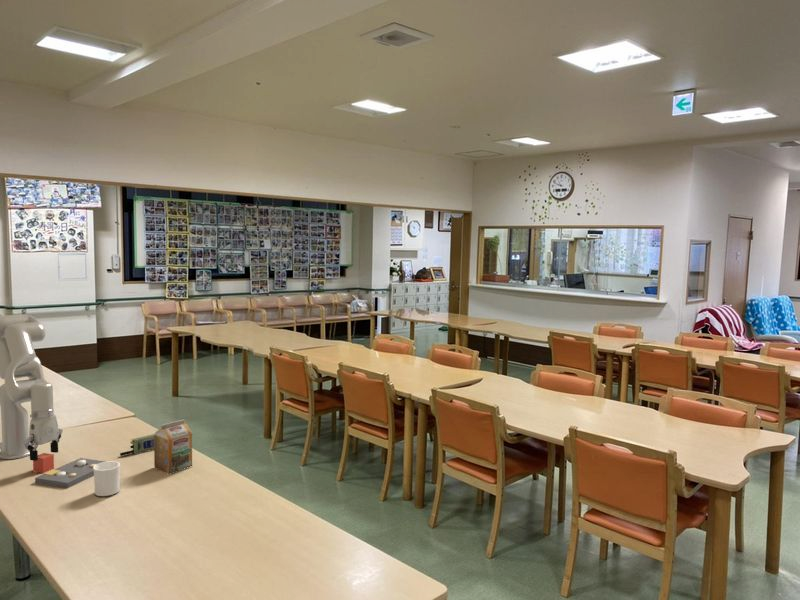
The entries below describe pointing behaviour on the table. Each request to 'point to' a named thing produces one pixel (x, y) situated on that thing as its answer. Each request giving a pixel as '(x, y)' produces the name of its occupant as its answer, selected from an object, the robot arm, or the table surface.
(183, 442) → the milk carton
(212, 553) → the table surface
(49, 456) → the cap
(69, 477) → the panel
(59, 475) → the cream egg in tray
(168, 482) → the table surface
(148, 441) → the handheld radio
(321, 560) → the table surface
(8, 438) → the robot arm
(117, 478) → the mug
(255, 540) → the table surface
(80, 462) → the white egg
